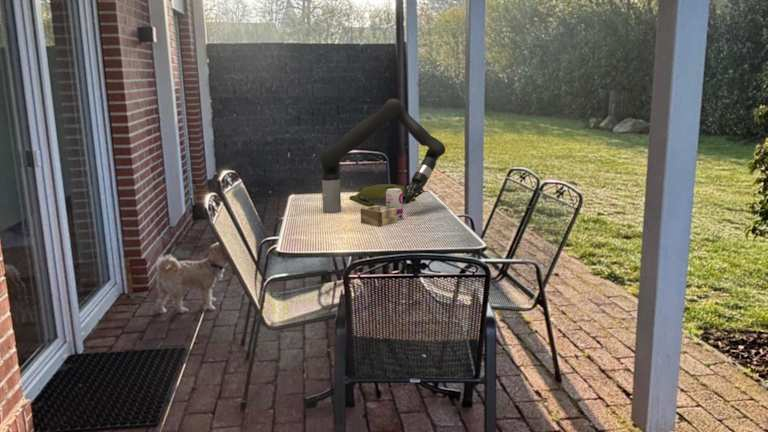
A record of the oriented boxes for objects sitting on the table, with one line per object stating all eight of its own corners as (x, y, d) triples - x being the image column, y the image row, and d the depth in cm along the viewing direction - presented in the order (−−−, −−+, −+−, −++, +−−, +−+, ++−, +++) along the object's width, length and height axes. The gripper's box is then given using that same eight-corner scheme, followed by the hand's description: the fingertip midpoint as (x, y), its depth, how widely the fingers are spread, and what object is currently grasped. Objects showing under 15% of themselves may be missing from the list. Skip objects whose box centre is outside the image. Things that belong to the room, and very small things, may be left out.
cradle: (378, 219, 325) (377, 205, 324) (397, 222, 316) (396, 208, 315) (361, 223, 318) (360, 208, 316) (380, 226, 308) (379, 212, 307)
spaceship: (348, 199, 385) (347, 183, 383) (395, 194, 397) (395, 178, 395) (371, 209, 353) (370, 191, 351) (422, 203, 365) (421, 186, 363)
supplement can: (405, 217, 327) (404, 188, 324) (400, 221, 319) (399, 190, 316) (389, 217, 329) (388, 187, 326) (384, 220, 322) (383, 190, 319)
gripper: (408, 170, 337) (392, 197, 331) (428, 171, 327) (412, 199, 321) (416, 179, 341) (400, 205, 335) (435, 181, 332) (419, 208, 326)
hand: (406, 202), depth 328 cm, fingers closed
